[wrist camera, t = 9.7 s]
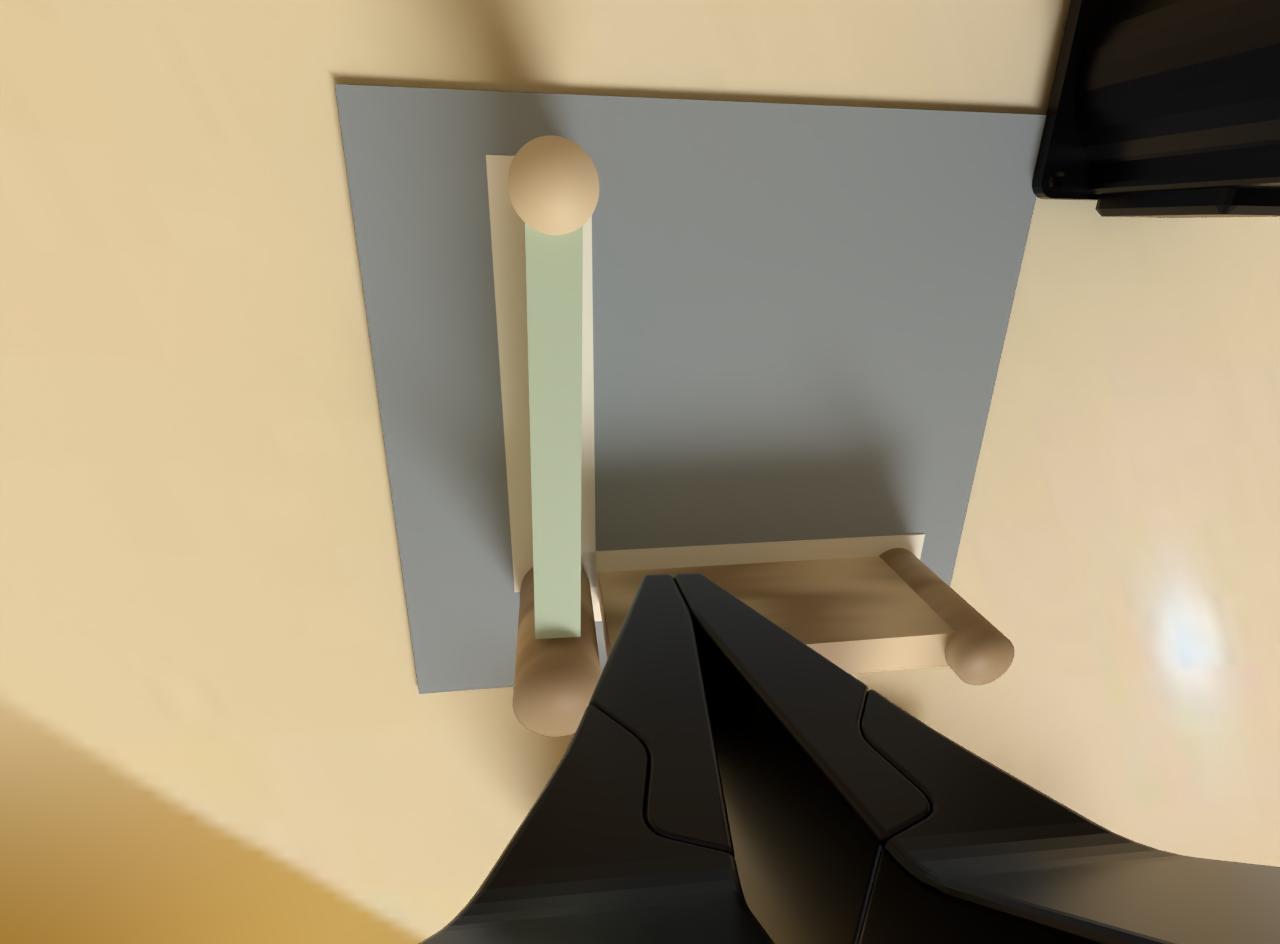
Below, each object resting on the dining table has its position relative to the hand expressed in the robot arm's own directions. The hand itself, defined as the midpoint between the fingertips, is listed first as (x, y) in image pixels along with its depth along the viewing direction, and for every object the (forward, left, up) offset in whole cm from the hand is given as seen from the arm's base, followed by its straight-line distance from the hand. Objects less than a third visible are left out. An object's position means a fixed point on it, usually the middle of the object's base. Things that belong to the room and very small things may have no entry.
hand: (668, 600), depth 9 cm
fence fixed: (+7, +4, -12) cm, 14 cm away
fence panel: (-1, -1, -11) cm, 11 cm away
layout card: (+1, +3, -12) cm, 12 cm away
